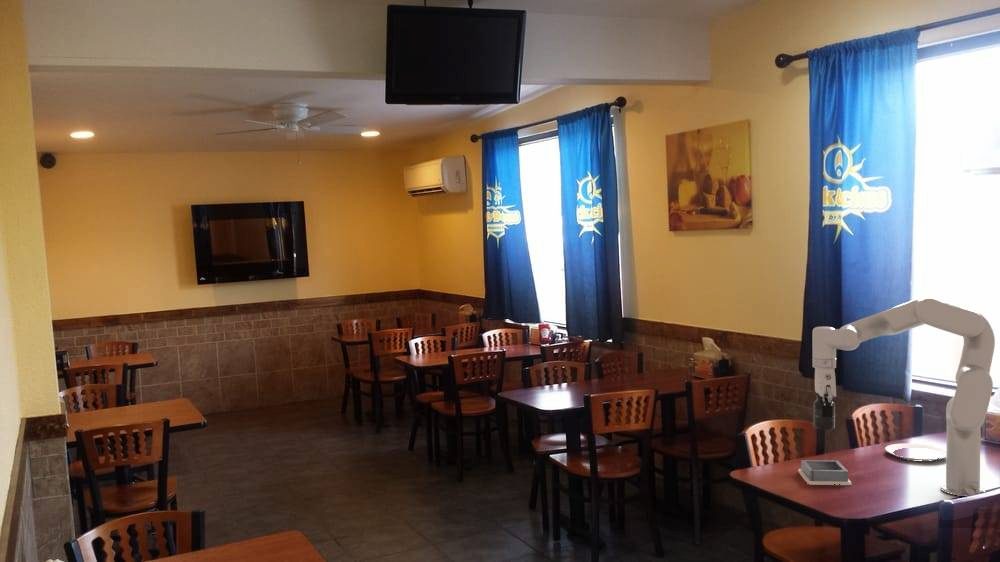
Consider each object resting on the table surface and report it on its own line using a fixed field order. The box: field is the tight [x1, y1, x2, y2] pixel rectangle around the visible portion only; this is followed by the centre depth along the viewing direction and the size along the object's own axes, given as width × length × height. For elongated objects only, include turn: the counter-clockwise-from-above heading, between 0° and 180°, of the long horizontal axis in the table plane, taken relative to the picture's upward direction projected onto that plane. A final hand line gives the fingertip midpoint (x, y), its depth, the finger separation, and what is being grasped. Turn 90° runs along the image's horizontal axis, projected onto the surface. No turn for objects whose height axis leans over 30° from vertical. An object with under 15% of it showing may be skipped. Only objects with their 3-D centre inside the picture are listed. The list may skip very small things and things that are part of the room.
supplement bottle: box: [813, 393, 836, 431], centre depth 277 cm, size 7×7×12 cm
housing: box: [797, 459, 852, 486], centre depth 279 cm, size 14×14×4 cm
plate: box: [884, 442, 946, 461], centre depth 301 cm, size 21×21×2 cm
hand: (824, 413), depth 277 cm, fingers closed on supplement bottle, 6 cm apart
